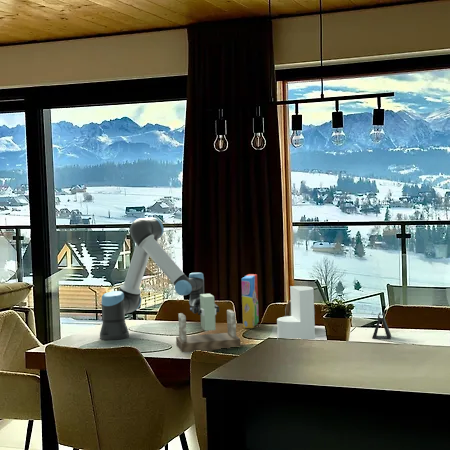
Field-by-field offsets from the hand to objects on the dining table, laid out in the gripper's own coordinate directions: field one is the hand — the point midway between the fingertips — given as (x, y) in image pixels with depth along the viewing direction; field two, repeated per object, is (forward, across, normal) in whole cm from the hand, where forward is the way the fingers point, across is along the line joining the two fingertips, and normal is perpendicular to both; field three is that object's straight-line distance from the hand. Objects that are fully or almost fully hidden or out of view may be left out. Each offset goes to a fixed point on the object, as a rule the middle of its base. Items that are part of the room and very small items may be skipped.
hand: (209, 312), depth 356 cm
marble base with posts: (-6, 0, -17) cm, 18 cm away
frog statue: (-27, -52, -18) cm, 61 cm away
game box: (-52, -32, -17) cm, 63 cm away
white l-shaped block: (+15, -38, -18) cm, 44 cm away
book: (-5, 0, -8) cm, 10 cm away
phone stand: (+7, -84, -18) cm, 86 cm away
